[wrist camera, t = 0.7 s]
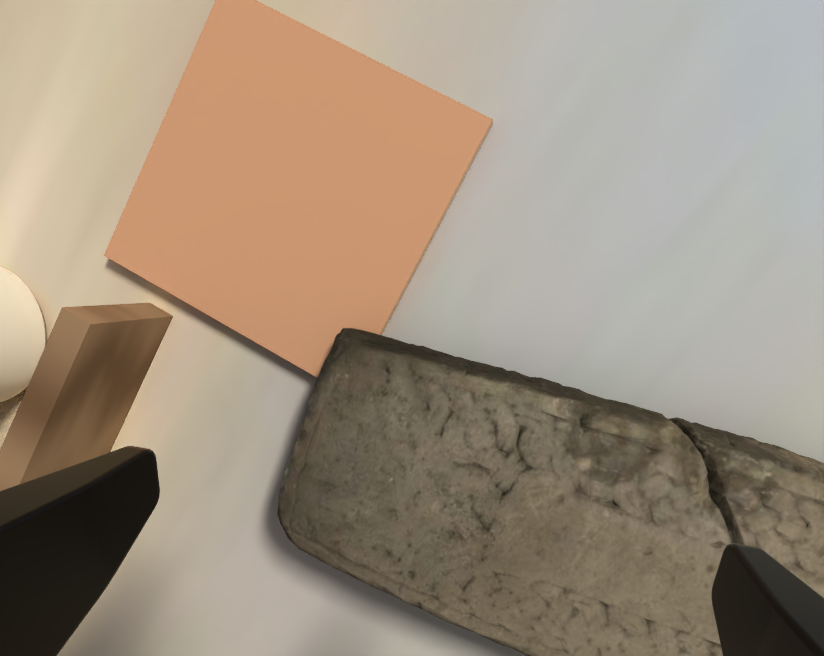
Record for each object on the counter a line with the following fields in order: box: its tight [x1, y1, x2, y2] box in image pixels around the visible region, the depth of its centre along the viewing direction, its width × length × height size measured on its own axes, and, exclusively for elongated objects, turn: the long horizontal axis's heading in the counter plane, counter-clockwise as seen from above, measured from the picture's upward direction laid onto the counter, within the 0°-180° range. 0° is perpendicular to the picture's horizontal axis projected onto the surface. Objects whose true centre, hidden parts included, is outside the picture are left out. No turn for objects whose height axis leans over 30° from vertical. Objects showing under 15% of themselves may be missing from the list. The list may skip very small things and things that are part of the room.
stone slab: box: [277, 328, 824, 656], centre depth 21 cm, size 10×3×30 cm
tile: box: [104, 0, 493, 378], centre depth 23 cm, size 12×12×1 cm
